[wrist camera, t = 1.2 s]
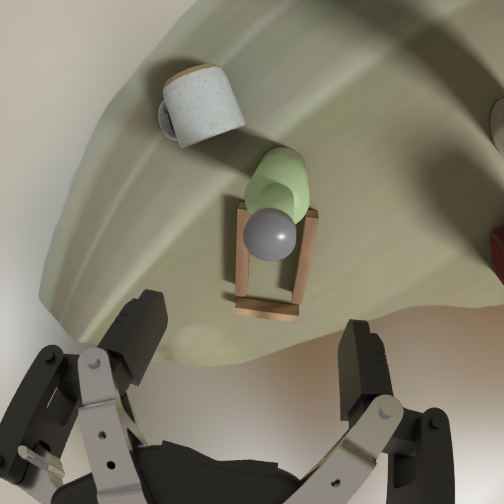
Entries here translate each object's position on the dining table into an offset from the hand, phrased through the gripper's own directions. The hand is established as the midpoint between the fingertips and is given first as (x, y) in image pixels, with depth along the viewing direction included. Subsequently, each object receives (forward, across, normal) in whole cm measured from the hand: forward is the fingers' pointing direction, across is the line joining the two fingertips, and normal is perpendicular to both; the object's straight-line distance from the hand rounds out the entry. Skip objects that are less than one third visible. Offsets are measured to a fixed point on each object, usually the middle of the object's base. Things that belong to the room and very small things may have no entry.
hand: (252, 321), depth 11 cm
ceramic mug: (+26, +10, -7) cm, 28 cm away
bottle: (+25, 0, 0) cm, 25 cm away
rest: (+25, 0, +14) cm, 29 cm away
